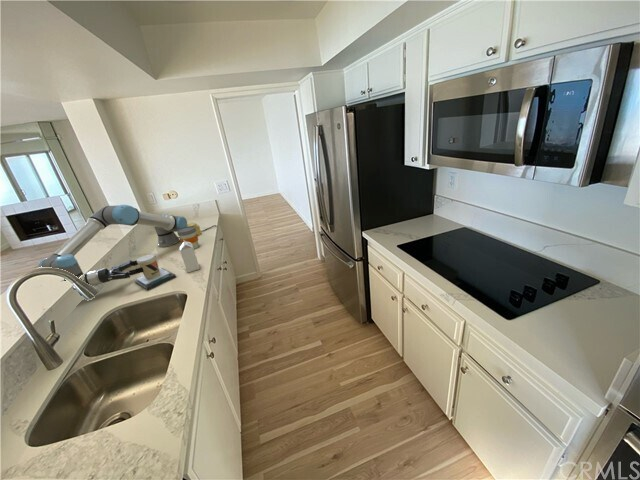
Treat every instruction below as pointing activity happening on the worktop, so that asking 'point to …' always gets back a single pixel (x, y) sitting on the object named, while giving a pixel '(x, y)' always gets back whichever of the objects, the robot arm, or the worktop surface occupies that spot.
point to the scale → (155, 279)
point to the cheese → (195, 227)
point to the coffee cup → (149, 266)
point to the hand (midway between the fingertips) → (144, 264)
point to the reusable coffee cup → (189, 235)
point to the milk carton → (189, 256)
